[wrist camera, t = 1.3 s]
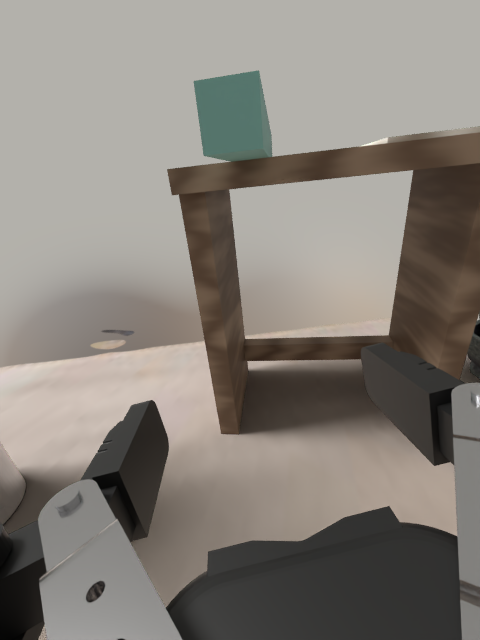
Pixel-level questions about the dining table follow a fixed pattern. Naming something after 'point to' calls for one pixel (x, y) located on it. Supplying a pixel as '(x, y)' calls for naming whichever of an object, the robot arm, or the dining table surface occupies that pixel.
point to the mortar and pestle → (475, 350)
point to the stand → (414, 269)
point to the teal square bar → (233, 117)
